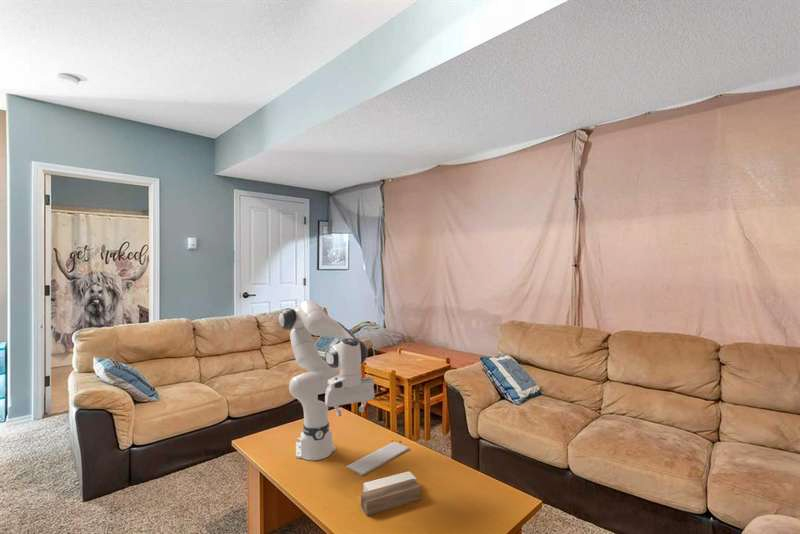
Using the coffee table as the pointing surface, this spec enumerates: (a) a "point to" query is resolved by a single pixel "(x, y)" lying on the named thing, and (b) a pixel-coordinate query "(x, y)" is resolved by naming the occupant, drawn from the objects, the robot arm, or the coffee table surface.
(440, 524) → the coffee table surface
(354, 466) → the baseboard molding
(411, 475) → the cream floor plank
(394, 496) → the brown wooden block
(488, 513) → the coffee table surface
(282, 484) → the coffee table surface
